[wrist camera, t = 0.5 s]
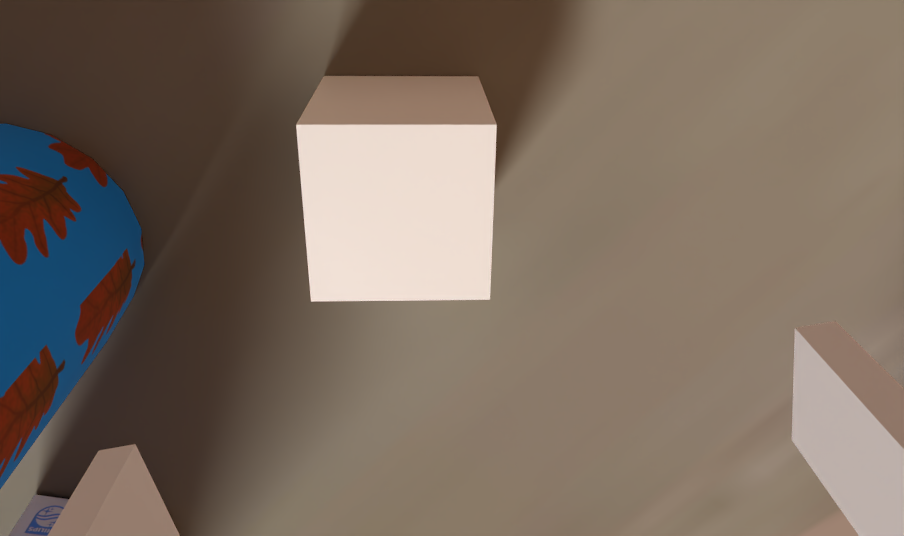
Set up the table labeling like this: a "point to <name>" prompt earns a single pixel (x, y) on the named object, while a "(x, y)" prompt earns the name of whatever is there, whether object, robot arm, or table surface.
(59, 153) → the thermos
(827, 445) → the robot arm
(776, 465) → the table surface
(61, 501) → the string lights box
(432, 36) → the table surface
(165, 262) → the table surface
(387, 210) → the white tilted cube
